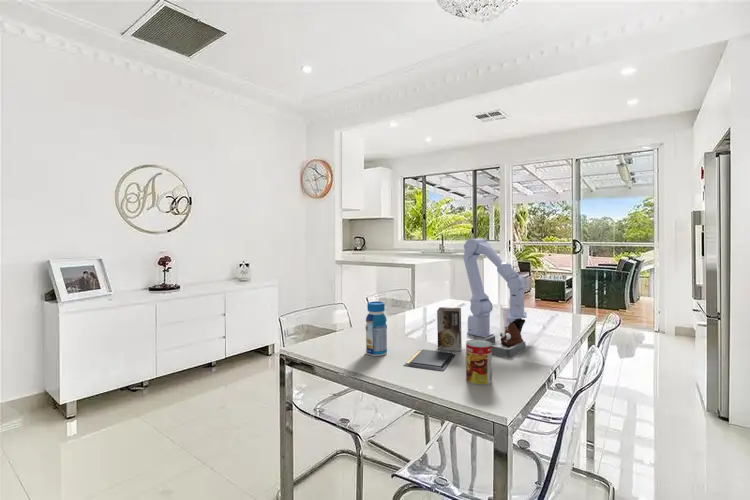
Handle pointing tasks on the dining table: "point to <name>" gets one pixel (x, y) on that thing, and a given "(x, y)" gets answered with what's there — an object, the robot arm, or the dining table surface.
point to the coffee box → (449, 328)
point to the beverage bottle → (376, 329)
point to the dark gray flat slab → (430, 360)
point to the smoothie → (506, 314)
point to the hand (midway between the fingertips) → (516, 336)
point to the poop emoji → (511, 335)
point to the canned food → (479, 362)
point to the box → (505, 351)
